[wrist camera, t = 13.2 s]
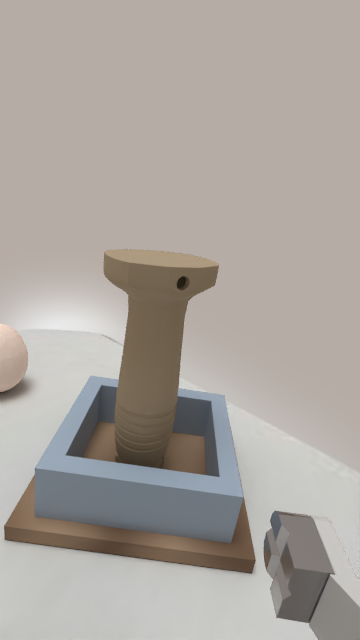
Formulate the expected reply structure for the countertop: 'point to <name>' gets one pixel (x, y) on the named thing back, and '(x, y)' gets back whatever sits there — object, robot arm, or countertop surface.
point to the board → (179, 456)
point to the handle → (152, 345)
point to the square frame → (142, 473)
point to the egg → (11, 358)
